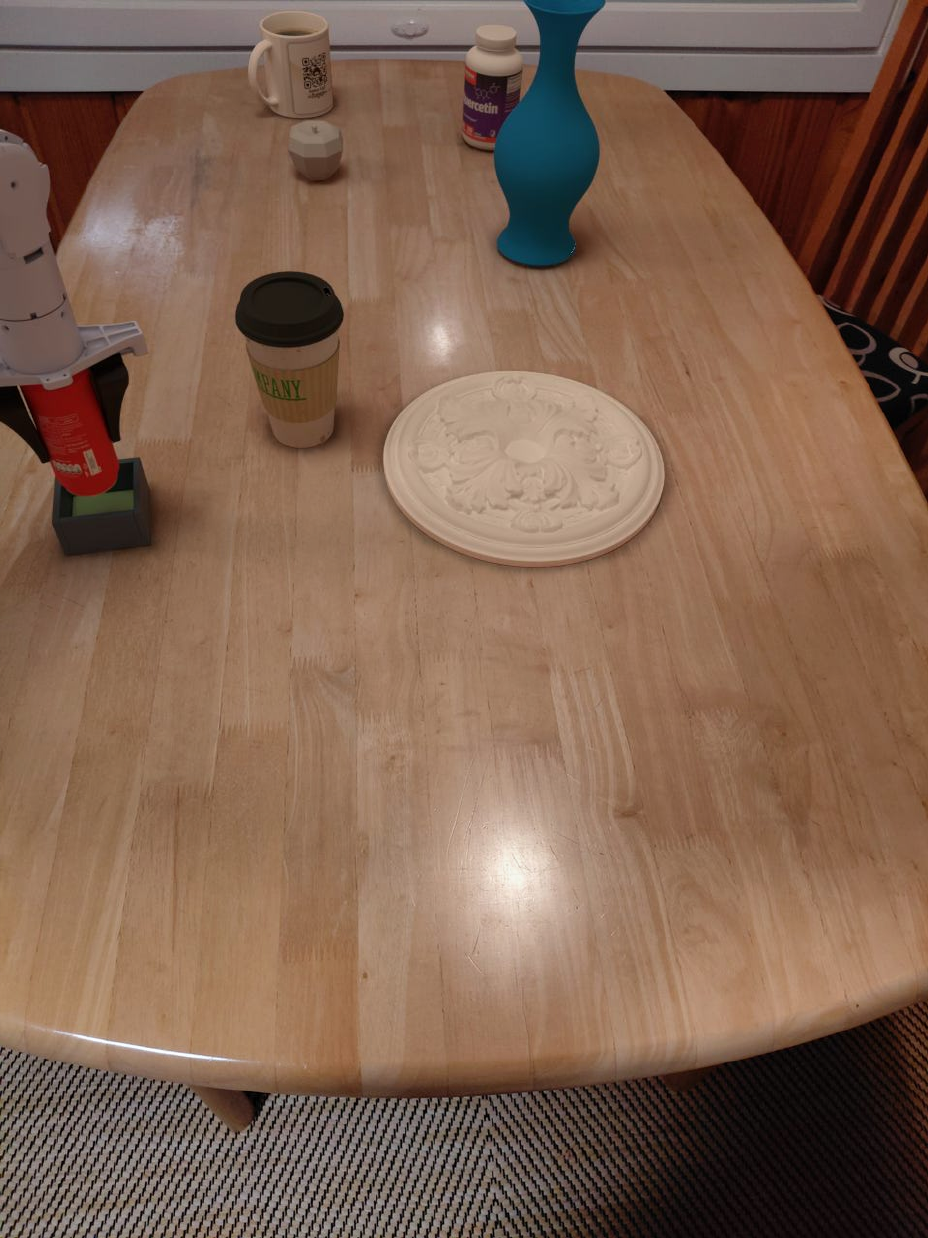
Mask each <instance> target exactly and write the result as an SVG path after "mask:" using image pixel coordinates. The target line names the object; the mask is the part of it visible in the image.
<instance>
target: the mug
mask: <svg viewBox="0 0 928 1238" xmlns="http://www.w3.org/2000/svg"><path fill="white" fill-rule="evenodd" d="M259 33H260V42H258V43H257V44H256V45H255V47H254V48H253V50H252V51H251V53H250V57H249V61H248V69H247V70H248V71H247V77H248V83H249V86H250V89H251V91H252V94H253V95H254V96H255V99H256V100H258V101H259V102H261V103H263V104H264V105H266V106H268V107H269V109H270V110H271V111H272V112H273V113H275V114H276V115H280V116H281V117H286V118H290V119H312V118H317V117H321V116H323V115H325V114H327V113H329V112H330V111H332V109H333V107H334V89H333V73H332V61H331V60H332V58H331V42H330V27H329V22H328V21H327V19H326V18H324V17H323V16H322V15H319V14H316V13H313V12H309V11H300V10H287V11H279V12H275V13H271V14H269V15H266V16H265V17H263V18H262V19H260V22H259ZM261 59H263V69H264V77H265V85H266V94H267V97H266V96H265V95H264V94H263V93H262V91H261V89H260V87H259V81H258V68H259V63H260V61H261ZM332 100H333V101H332Z"/></svg>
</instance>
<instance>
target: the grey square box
mask: <svg viewBox="0 0 928 1238" xmlns="http://www.w3.org/2000/svg"><path fill="white" fill-rule="evenodd" d="M118 461H119V470H118V473H117V475H118V477H117V481H116V483H115V484H114V486H113V487H112V488H110V489H109V490H108V491H106V492H104V493H102V494H99V495H96V496H91V497H81V496H76V495H74V494H71V493H70V492H69V491H68V490H67V489H66V488H65V487H64V486H62V485H61V484H60V483H59V482H58V480H57V478H56V476H55V475H54V485H53V500H52V511H51V512H52V513H51V514H52V515H51V526H52V528H53V530H54V533H55V535H56V537H57V540H58V542H59V544H60V546H61V549H62V551H63V553H64V556H73V555H80V554H89V553H98V552H105V551H113V550H120V549H127V548H128V549H130V548H137V547H145V546H151V543H152V542H151V541H152V540H151V539H152V538H151V489H150V486H149V483H148V479H147V476H146V473H145V470H144V466H143V463H142V460H141V457H140V456H136V457H127V458H118Z"/></svg>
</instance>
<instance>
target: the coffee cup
mask: <svg viewBox="0 0 928 1238" xmlns="http://www.w3.org/2000/svg"><path fill="white" fill-rule="evenodd" d="M344 316H345V312H344V309H343V304H342V302H341V300H340V299H339V297H338V296H337V295H336V292H335V290H334V289H333V287H332V285H331V284H329V282H328V281H327V280H325V279H323V278H321V277H320V276H317V275H315V274H312V273H308V272H303V271H295V270H294V271H293V270H292V271H291V270H285V271H277V272H270V273H267V274H263V275H260V276H259V277H257V278H254V279H253V280H251V281H250V282H248V283H247V284H246V285H245V286H244V288H242V291H241V292H240V295H239V300H238V302H237V305H236V308H235V312H234V322H235V325H236V327H237V329H238V331H239V332H240V333H241V334H242V335H243V337H244V340H245V350H246V353H247V356H248V359H249V363H250V366H251V369H252V370H251V371H252V373H253V376H254V379H255V383H256V386H257V389H258V393H259V396H260V399H261V402H262V405H263V408H264V410H265V412H266V414H267V417H268V421H269V423H270V427H271V431H272V434H273V436H274V437H275V439H276V440H277V441H278V442H279V443H280V444H283V445H285V446H287V447H290V448H295V449H307V448H308V449H309V448H313V447H317V446H318V445H321V444H323V443H324V442H326V441H327V440H328V439H330V437H331V436H332V435H333V432H334V427H335V408H336V404H337V398H338V397H337V396H338V383H339V382H338V381H339V380H338V379H339V364H340V363H339V362H340V347H341V346H340V344H341V341H340V336H339V332H340V327H341V326H342V324H343V322H344V318H345V317H344Z"/></svg>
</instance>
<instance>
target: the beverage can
mask: <svg viewBox="0 0 928 1238" xmlns="http://www.w3.org/2000/svg"><path fill="white" fill-rule="evenodd" d="M72 379H73V382H72V383H71V384H70V385H68V386H64V387H61V388H57V389H53V390H47V389H45V388H44V387H43V385H42V384H35V385H19V386H18V387H19V390H20V392H21V395H22V397H23V398H24V399H23V400H24V402H25V405H26V407H27V410H28V412H29V415H30V417H31V419H32V421H33V423H34V425H35V427H36V429H37V431H38V434H39V436H40V439H41V441H42V443H43V445H44V447H45V449H46V451H47V454H48V456H49V459H50V461H51V462H49V463H50V466H51V468H52V471H53V473H54V477H55V476H56V478H57V480H58V482H59V483H60V484H61V485H62V486H64V487H65V488H66V489H67V490H68V491H69V492H70V493H71V494H74V495H76V496H81V497H91V496H96V495H99V494H102V493H104V492H106V491H108V490H109V489H110V488H112V487H113V486H114V484H115V483H116V481H117V477H118V475H117V473H118V470H119V461H118V459H119V457H118V456H117V452H116V449H115V446H114V443H113V442H112V440H111V437H110V434H109V431H108V428H107V425H106V421H105V418H104V415H103V412H102V409H101V406H100V403H99V400H98V397H97V394H96V391H95V388H94V385H93V381H92V378H91V375H90V372H89V369H88V368H86V369H84V370H82V371H80V372H78V373H76V374H75V375H73V376H72Z"/></svg>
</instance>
